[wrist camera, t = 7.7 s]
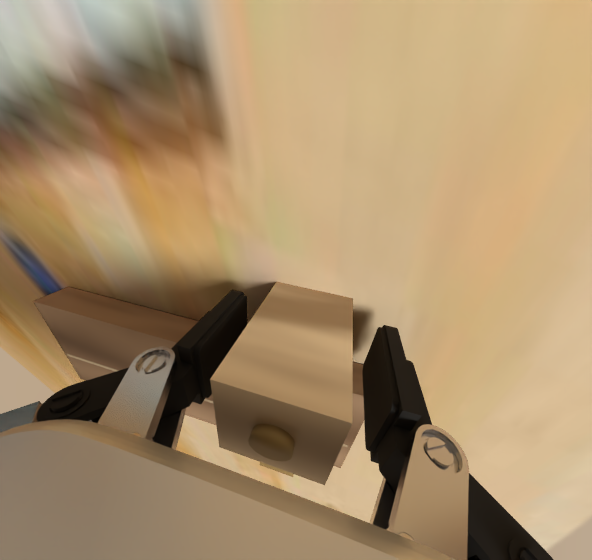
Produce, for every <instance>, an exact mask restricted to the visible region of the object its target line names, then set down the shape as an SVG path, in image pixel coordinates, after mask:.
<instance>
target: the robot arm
mask: <svg viewBox="0 0 592 560" xmlns="http://www.w3.org/2000/svg"><path fill="white" fill-rule="evenodd" d="M246 326H247V297H246V296H244V293H243V292H239V291H235V290H232V291H230V292H229V293H228V294H227V295H226V296H225V297H224V298H223V299H222V300H221V301H220V302H219V303H218V304H217V305H216V306H215V307H214V308H213V309H212V310H211V311H209V312H208V313H207V314H206V315H205V316H204V317H203V318H201V319H200V320H199V321H198V322H197V323H196V324H195V325H194V326H193V327H192V328H191V329H190V330H189V331H188V332H187V333H186V334H185V335H184V336H183V337H182V338H181V339H180V340H179V341H178V342H177V343H176V344H175V345H174V346H173V347H172V348H168V347H155V348H151V349H149V350H146V351H145V352H143V353H141V354H140V355H139V356H137V357H136V358H135V359H134V361H133V362H132V364H131V365H130V367H129V368H125V369H122V370H119V371H116V372H113V373H109V374H106V375H103V376H100V377H96V378H93V379H90V380H87V381H83V382H80V383H77V384H74V385H71V386H68V387H66V388H64V389H62V390H60V391H58V392H57V393H55V394H54V395H52V396H51V397H50V398H48V399H47V400H46V401H45V402H44V403H43V404H41V403H40V401H38V402H35V403H32V404H30V405H27V406H24V407H21V408H18V409H15V410H12V411H9V412H6V413H3V414H0V560H553V559H552V557H551V556H550V555H549V554H548V553H547V552H546V551H545V550H544V549H543V548H542V547H541V546H540V545H539V544H538V543H537V542H536V540H535V539H534V538H533V537H532V536H531V535H530V534H529V533H528V532H527V531H526V530H525V529H524V528H523V527H522V526H521V525H520V524H519V523H518V522H517V521H516V520H515V519H514V518H513V517H512V516H511V515H510V514H509V513H508V512H507V511H506V510H505V509H504V508H503V507H502V506H501V505H500V504H499V503H498V502H497V501H496V500H495V499H494V498H493V497H492V496H491V495H490V494H489V493H488V492H487V491H486V490H485V489H484V488H483V487H482V486H481V485H480V484H479V483H478V482H477V481H476V480H475V479H474V477H473V476H472V475H471V474H470V473H469V466H468V460H467V458H466V456H465V453H464V451H463V450H462V448H461V447H460V445H459V444H458V443H457V442H456V440H455V439H454V438H453V437H452V436H451V435H449V434H448V433H447V432H446V431H444V430H443V429H441V428H439V427H437V426H434V425H432V423H431V420H430V416H429V413H428V410H427V407H426V404H425V400H424V397H423V394H422V391H421V387H420V384H419V381H418V378H417V374H416V371H415V368H414V365H413V363H412V362H411V361H408V360H406V357H405V354H404V350H403V346H402V343H401V339H400V336H399V332H398V329H397V328H394V327H390V326H386V325H384V326H383V327H382V328H381V327H379V328H378V329H377V332H376V334H375V337H374V340H373V342H372V345H371V347H370V350H369V352H368V355H367V357H366V360H365V362H364V365H363V370H362V376H363V398H364V420H365V442H366V449H367V450H368V451H370V453H371V461H373V462H376V463H379V471H380V472H381V473H382V475H383V476H384V478H383V481H382V484H381V487H380V491H379V494H378V497H377V500H376V504H375V507H374V510H373V513H372V516H371V520H370V523H368V522H365V521H362V520H360V519H357V518H354V517H352V516H349V515H347V514H344V513H341V512H339V511H336V510H334V509H331V508H328V507H326V506H323V505H320V504H318V503H315V502H313V501H310V500H307V499H305V498H302V497H300V496H297V495H294V494H292V493H289V492H286V491H284V490H281V489H278V488H276V487H273V486H270V485H268V484H265V483H262V482H260V481H257V480H255V479H252V478H249V477H247V476H244V475H241V474H239V473H236V472H233V471H231V470H228V469H225V468H223V467H220V466H217V465H215V464H212V463H209V462H207V461H204V460H201V459H199V458H196V457H193V456H190V455H188V454H185V453H182V452H180V451H177V450H176V447H177V443H178V439H179V435H180V431H181V427H182V423H183V419H184V415H185V411H186V408H187V407H189V406H190V405H191V403H192V402H195V403H198V404H202V402H203V401H204V399H205V398H209V397H210V396H211V394H212V389H211V382H210V379H211V377H212V376H213V374H214V373H215V371H216V370H217V368H218V367H219V365H220V364H221V363H222V361H223V360H224V358H225V357H226V355H227V354H228V352H229V351H230V349H231V348H232V346H233V345H234V343H235V342H236V341H237V339H238V338H239V336H240V335H241V333H242V332H243V330H244V329H245V327H246Z"/></svg>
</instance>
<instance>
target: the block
mask: <svg viewBox="0 0 592 560" xmlns="http://www.w3.org/2000/svg"><path fill="white" fill-rule="evenodd" d="M210 382H211V389H212V396H213V403H214V410H215V417H216V425H217V432H218V439H219V446H220V447H221V448H224V449H227V450H229V451H232V452H235V453H238V454H240V455H243V456H246V457H249V458H251V459H254V460H257V461H260V465H262V466H264V467H267V468H270V469H273V470H275V471H278V472H281V473H283V474H286V475H289V476H292V477H293V474H295V475H298V476H301V477H304V478H306V479H309V480H312V481H315V482H317V483H320V484H323V485H325V483H326V481H327V479H328V477H329V475H330V472H331V470H332V468H333V466H334V463H335V461H336V459H337V457H338V454H339V452H340V450H341V448H342V446H343V443H344V441H345V439H346V437H347V434H348V432H349V430H350V428H351V426H352V404H353V298H348V297H343V296H339V295H334V294H330V293H325V292H321V291H316V290H311V289H307V288H302V287H298V286H293V285H289V284H284V283H280V282H276V283H275V285H274V286H273V288H272V289H271V291H270V292H269V294H268V295H267V297H266V298H265V299H264V301H263V302H262V304H261V305H260V307H259V308H258V310H257V311H256V313H255V314H254V316H253V317H252V319H251V320H250V321H249V323H248V324H247V326H246V327H245V329H244V330H243V332H242V333H241V335H240V336H239V338H238V339H237V341H236V342H235V343H234V345H233V346H232V348H231V349H230V351H229V352H228V354H227V355H226V357H225V358H224V360H223V361H222V363H221V364H220V365H219V367H218V368H217V370H216V371H215V373H214V374H213V376H212V377H211V379H210Z"/></svg>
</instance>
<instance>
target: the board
mask: <svg viewBox="0 0 592 560" xmlns="http://www.w3.org/2000/svg"><path fill="white" fill-rule="evenodd" d="M33 302H34V304H35V306H36V307H37V309H38V310H39V312H40V314H41V315H42V317H43V319H44V320H45V322H46V323H47V325H48V327H49V328H50V330H51V331H52V333H53V335H54V336H55V338H56V340H57V341H58V343H59V344H60V346H61V348H62V349H63V351H64V352H65V354H66V356H67V357H68V359H69V361H70V362H71V364H72V365H73V367H74V369H75V370H76V372H77V374H78V375H79V377H80V378H81V379H83V380H86V381H87V380H90V379H93V378H96V377H100V376H103V375H106V374H109V373H113V372H116V371H119V370H122V369H125V368H129V367H130V365H131V364H132V362H133V361H134V359H135V358H136V357H137V356H139V355H140V354H141V353H143V352H145V351H146V350H149V349H151V348H155V347H168V348H172V347H173V346H174V345H175V344H176V343H177V342H178V341H179V340H180V339H181V338H182V337H183V336H184V335H185V334H186V333H187V332H188V331H189V330H190V329H191V328H192V327H193V326H194V325H195V324H196V323H197V322H198V321H196V320H192V319H189V318H185V317H181V316H177V315H173V314H170V313H166V312H162V311H158V310H154V309H151V308H147V307H143V306H139V305H136V304H132V303H128V302H124V301H120V300H117V299H113V298H109V297H105V296H101V295H98V294H94V293H90V292H86V291H83V290H79V289H75V288H71V287H66V288H64V289H62V290H59V291H57V292H54V293H52V294H49V295H47V296H45V297H42V298H40V299H37V300H35V301H33ZM362 370H363V364H359V363H355V362H353V404H352V426H351V428H350V430H349V432H348V434H347V437H346V439H345V441H344V443H343V446H342V448H341V450H340V452H339V454H338V457H337V459H336V461H335V463H334V466H336V467H339V468H341V466H342V464H343V462H344V460H345V458H346V456H347V454H348V452H349V450H350V448H351V446H352V444H353V442H354V440H355V438H356V436H357V434H358V432H359V429H360V427H361V425H362V423H363V421H364V398H363V376H362ZM185 415H188V416H191V417H194V418H197V419H199V420H202V421H205V422H208V423H211V424H214V425H216V417H215V410H214V403H213V396H212V394H211V396H210V397H209V398H205V399H204V401H203V402H202V404H198V403H195V402H192V403H191V405H190V406H189V407H187V408H186V411H185Z"/></svg>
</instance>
